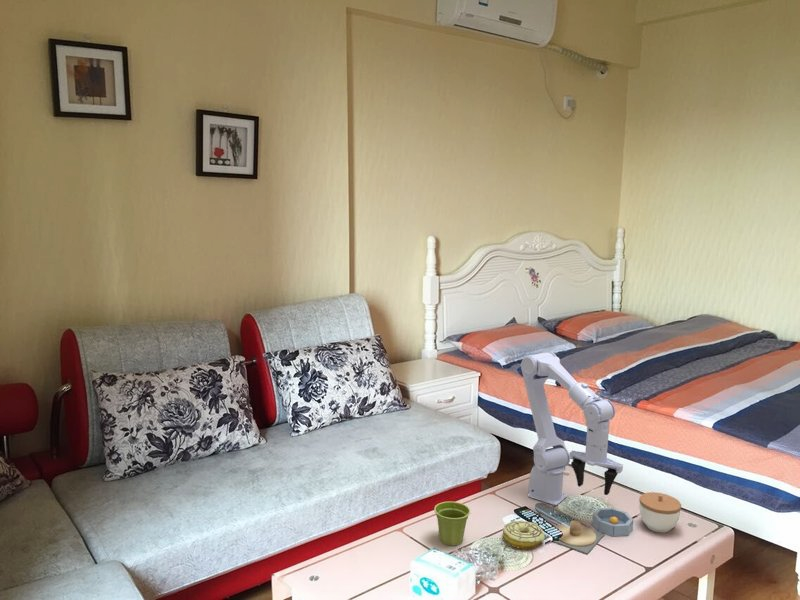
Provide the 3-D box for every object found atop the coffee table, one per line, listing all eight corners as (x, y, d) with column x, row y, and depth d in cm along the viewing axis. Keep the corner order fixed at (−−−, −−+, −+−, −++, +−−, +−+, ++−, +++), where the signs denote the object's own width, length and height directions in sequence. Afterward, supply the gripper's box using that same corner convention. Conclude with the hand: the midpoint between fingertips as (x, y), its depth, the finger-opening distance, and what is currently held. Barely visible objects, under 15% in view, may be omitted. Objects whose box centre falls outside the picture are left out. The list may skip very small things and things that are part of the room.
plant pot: (443, 527, 179) (444, 497, 178) (474, 536, 174) (475, 506, 173) (427, 543, 171) (428, 512, 170) (459, 553, 166) (461, 522, 165)
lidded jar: (671, 518, 186) (674, 487, 184) (684, 538, 175) (687, 506, 174) (633, 516, 187) (635, 485, 185) (643, 535, 176) (645, 503, 175)
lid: (546, 536, 175) (547, 523, 174) (565, 520, 183) (566, 509, 182) (584, 551, 167) (585, 538, 167) (603, 534, 176) (603, 522, 175)
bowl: (587, 527, 180) (588, 517, 179) (601, 514, 188) (601, 503, 187) (623, 540, 174) (624, 529, 173) (636, 525, 182) (637, 514, 181)
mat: (543, 538, 174) (543, 537, 174) (562, 521, 183) (562, 519, 183) (587, 554, 167) (587, 553, 167) (604, 535, 176) (604, 534, 176)
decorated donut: (552, 546, 171) (552, 533, 170) (517, 555, 166) (518, 541, 166) (528, 527, 180) (529, 514, 179) (495, 535, 176) (496, 522, 175)
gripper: (565, 440, 180) (562, 486, 183) (617, 454, 171) (613, 502, 174) (576, 433, 186) (573, 478, 188) (627, 446, 177) (623, 493, 179)
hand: (593, 489), depth 181 cm, fingers open, 7 cm apart
